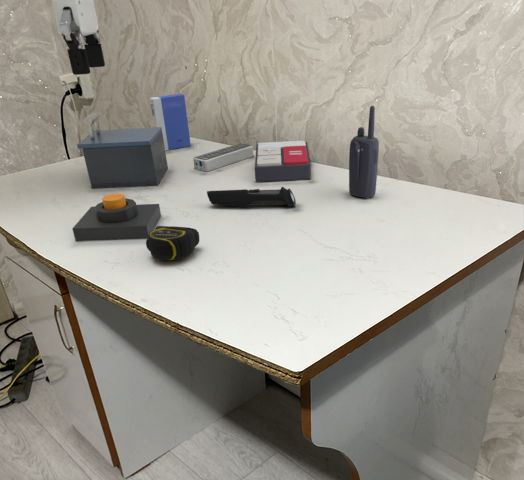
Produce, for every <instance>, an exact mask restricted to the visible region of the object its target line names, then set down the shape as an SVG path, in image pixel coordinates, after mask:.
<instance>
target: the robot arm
mask: <svg viewBox="0 0 524 480" xmlns="http://www.w3.org/2000/svg"><path fill="white" fill-rule="evenodd" d="M51 3H52V8H53V13H54V19H55V22H56V23H55V24H56V27H57V32H58V35H59V36H60V37H62V38H63V40H64V42H65V48H66V50H67V55H68V59H69V63H70V68H71V72H72V75H74V76H78V75H89V74H90V73H91V68H103V67H105V66H106V62H105V58H104V52H103V48H102V43H101V37H100V34H99V32H100V31H99V20H98V15H97V11H96V6H95V1H94V0H51ZM84 42H85V43H84Z"/></svg>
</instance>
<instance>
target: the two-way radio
mask: <svg viewBox="0 0 524 480" xmlns="http://www.w3.org/2000/svg"><path fill="white" fill-rule="evenodd" d="M375 109H376V107H375V105H371V106H370V107H369V114H368V126H367V127H368V128H367V135H365V134H366V133H365V127H363V126H361V127H360V126H359V127H358V129H357V133H356V134H357V135H356V136H354V137H352V139H351V140H350V143H349V152H348V153H349V154H348V158H349V159H348V192H349V194H350V195H353V196H355V197H359V198H365V199H369V198H373V197H375V196H376V191H377V190H376V189H377V180H378V166H379V165H378V164H379V151H380V142H379V141H380V140H379V139H378V138H377V137H375V118H376V117H375V115H376V113H375V112H376V110H375Z"/></svg>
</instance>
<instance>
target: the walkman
mask: <svg viewBox="0 0 524 480" xmlns="http://www.w3.org/2000/svg"><path fill="white" fill-rule="evenodd" d="M149 100H150V108H151V109H150V110H151V115H152V118H153V125H154V128H156V127H162V133H163V140H164V146H165V152H166V151H171V150H177V149H182V148H188V147H191V146H192V144H191V136H190V130H189V128H190V127H189V121H188V113H187V106H186V98H185V94H183V93H178V92H172V93H171V94H166V95H161V96H153V97H150V98H149Z"/></svg>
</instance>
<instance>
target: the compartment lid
mask: <svg viewBox="0 0 524 480" xmlns="http://www.w3.org/2000/svg"><path fill="white" fill-rule="evenodd" d="M99 120H100V113H98V112H96V111H93V112H92V113H90V114H89V115H87V116H86V117H84V119H83V123H84V125H86V126H87V129H88V133H89V134H88V135H87V136H86V137H84V139H82V140H81V141H79V142H78V143H77V144H76V147H77V149H78V150H79V149H81V150H82V149H83V148H102V147H122V146H143V145H151V144H152V143H153V141H154V140H155V139H156V138H157V137H158V135H159V134H160V133H161V132H162V127H156V128H155V127H140V128H139V127H138V128H122V129H121V128H117V129H101V128H100V124H99ZM93 125H94V129H93Z"/></svg>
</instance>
